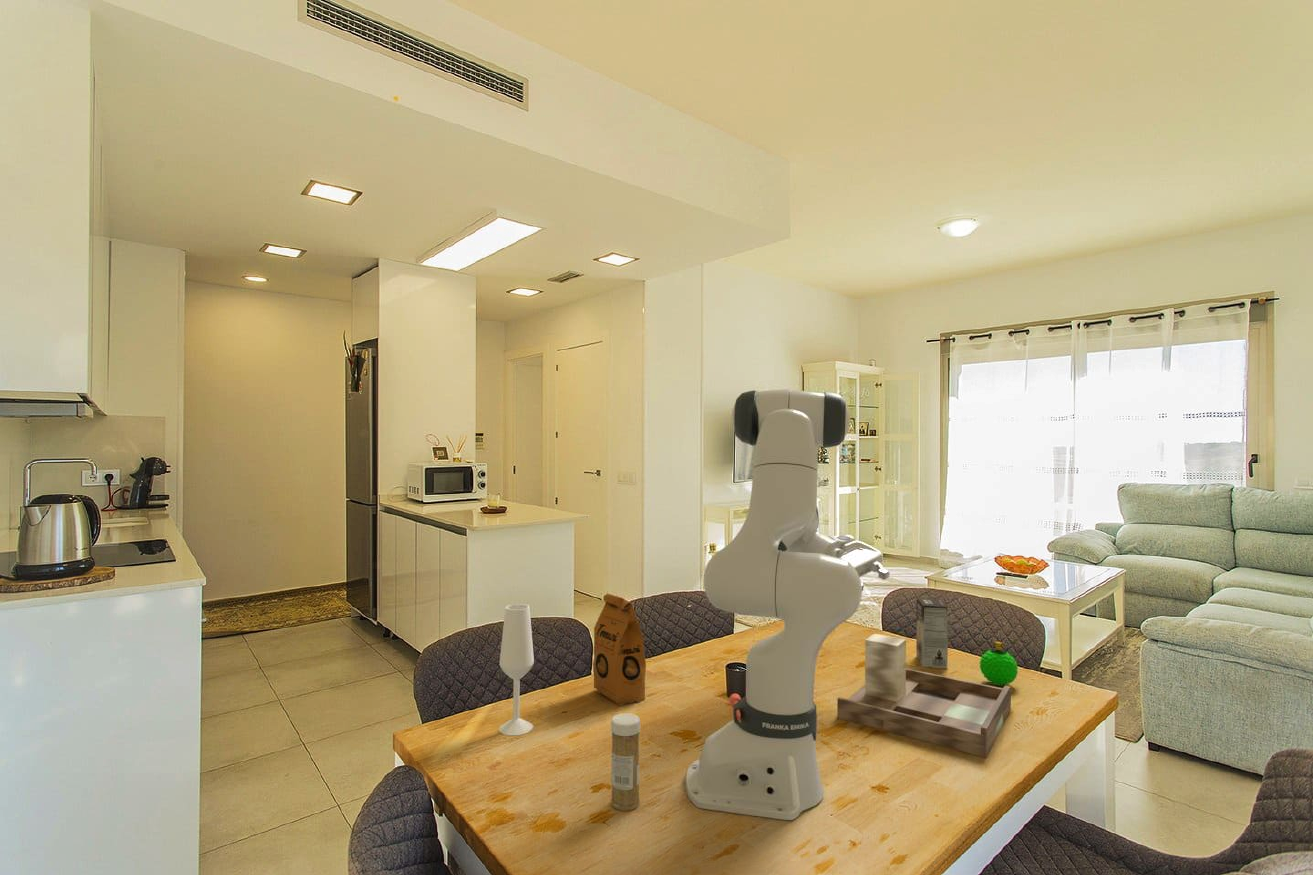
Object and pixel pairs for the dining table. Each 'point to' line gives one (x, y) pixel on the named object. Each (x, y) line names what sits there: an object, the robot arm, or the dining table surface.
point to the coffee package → (619, 652)
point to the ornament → (998, 666)
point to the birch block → (885, 667)
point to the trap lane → (935, 711)
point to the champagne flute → (516, 659)
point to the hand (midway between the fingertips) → (874, 582)
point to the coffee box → (932, 632)
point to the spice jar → (625, 761)
